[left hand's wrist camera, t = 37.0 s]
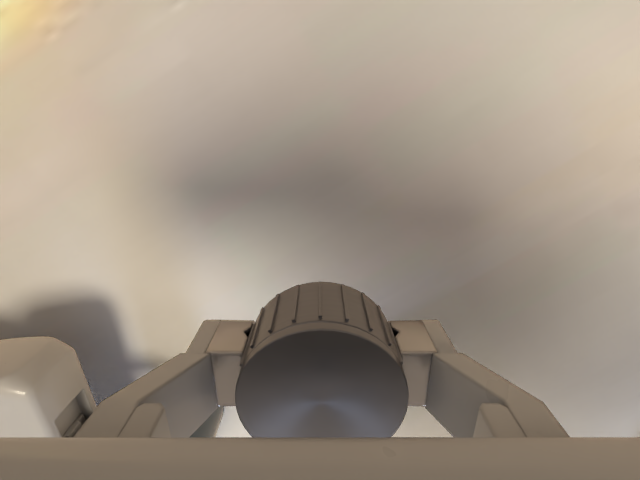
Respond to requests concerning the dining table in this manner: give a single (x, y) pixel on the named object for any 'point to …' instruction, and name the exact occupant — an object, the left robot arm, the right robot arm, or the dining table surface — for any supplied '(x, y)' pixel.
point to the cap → (321, 367)
